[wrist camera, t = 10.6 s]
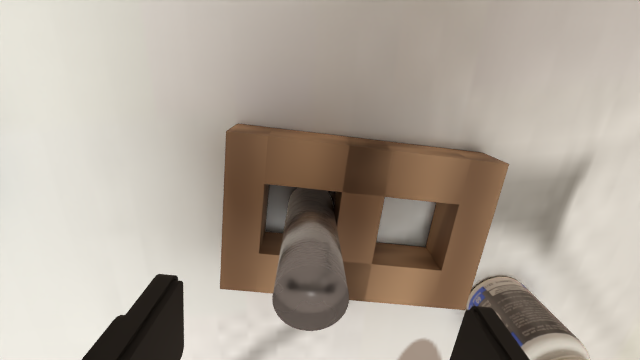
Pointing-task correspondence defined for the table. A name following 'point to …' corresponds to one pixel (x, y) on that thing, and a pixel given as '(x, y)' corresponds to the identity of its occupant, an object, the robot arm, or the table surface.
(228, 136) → the hole block
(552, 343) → the pill bottle
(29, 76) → the table surface
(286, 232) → the peg
